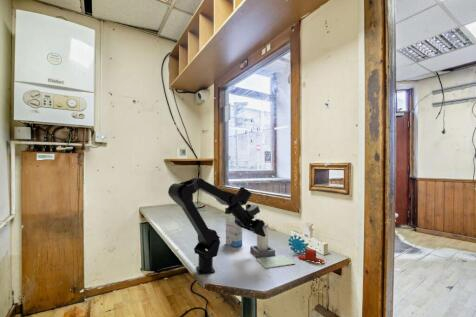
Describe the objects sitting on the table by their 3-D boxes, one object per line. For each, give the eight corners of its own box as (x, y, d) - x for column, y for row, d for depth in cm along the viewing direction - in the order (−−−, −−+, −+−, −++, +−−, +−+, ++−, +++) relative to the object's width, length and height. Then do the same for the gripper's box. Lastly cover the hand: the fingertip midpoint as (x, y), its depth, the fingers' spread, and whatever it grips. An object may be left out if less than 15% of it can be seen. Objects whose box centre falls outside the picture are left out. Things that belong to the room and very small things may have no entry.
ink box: (242, 245, 126) (242, 217, 126) (236, 247, 122) (236, 218, 123) (231, 241, 132) (231, 215, 132) (225, 243, 128) (225, 216, 129)
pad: (295, 264, 101) (295, 263, 101) (265, 268, 97) (265, 267, 97) (283, 256, 111) (283, 255, 111) (256, 259, 106) (256, 258, 106)
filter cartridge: (270, 254, 112) (270, 225, 113) (259, 256, 110) (259, 226, 111) (265, 250, 117) (265, 222, 118) (254, 252, 116) (255, 223, 116)
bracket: (296, 259, 108) (296, 248, 108) (299, 256, 111) (299, 245, 111) (322, 265, 101) (322, 253, 102) (324, 262, 105) (324, 250, 105)
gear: (292, 252, 111) (287, 233, 118) (286, 258, 115) (282, 239, 122) (312, 254, 114) (306, 235, 121) (306, 259, 117) (301, 241, 125)
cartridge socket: (275, 255, 111) (275, 250, 111) (257, 257, 108) (257, 252, 108) (266, 249, 120) (266, 244, 120) (250, 251, 117) (250, 246, 117)
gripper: (261, 202, 103) (280, 224, 108) (240, 197, 119) (257, 216, 125) (245, 222, 99) (267, 244, 104) (226, 214, 115) (245, 233, 120)
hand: (259, 233), depth 113 cm, fingers open, 9 cm apart
